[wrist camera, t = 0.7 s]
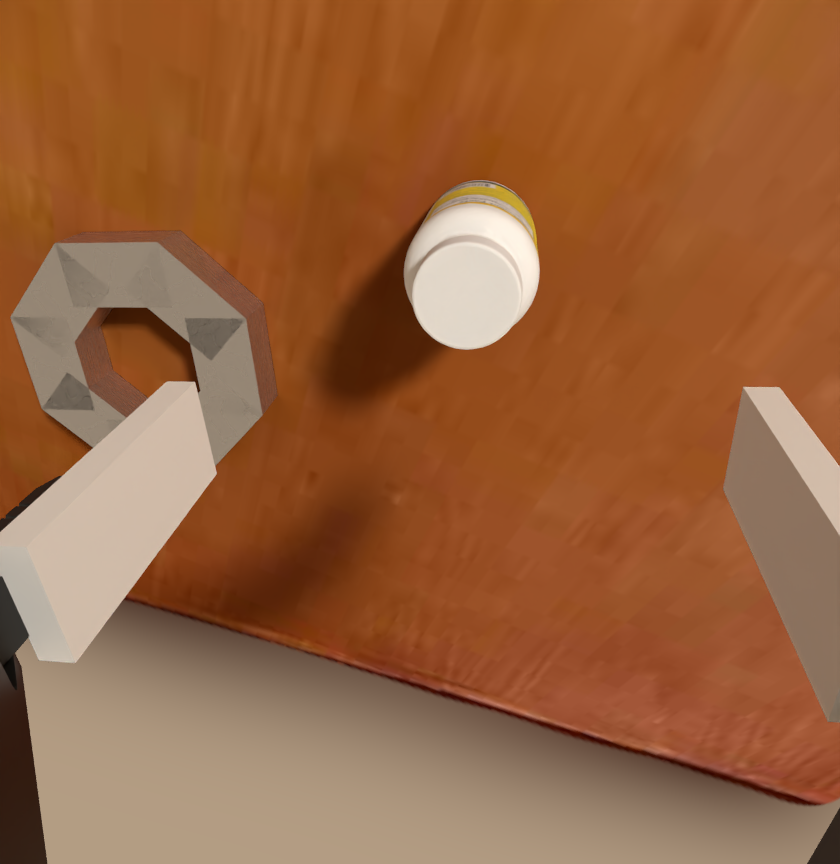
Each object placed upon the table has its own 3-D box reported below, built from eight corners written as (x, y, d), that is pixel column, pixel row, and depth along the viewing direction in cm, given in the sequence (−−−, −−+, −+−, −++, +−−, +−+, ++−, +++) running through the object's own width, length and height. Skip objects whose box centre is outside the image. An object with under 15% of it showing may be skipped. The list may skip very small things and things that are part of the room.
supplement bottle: (489, 312, 34) (477, 395, 26) (403, 247, 33) (360, 310, 25) (560, 225, 32) (573, 285, 23) (469, 153, 31) (447, 186, 22)
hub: (18, 233, 36) (-24, 246, 33) (251, 229, 34) (227, 244, 31) (85, 445, 42) (55, 472, 39) (286, 452, 40) (269, 480, 37)
